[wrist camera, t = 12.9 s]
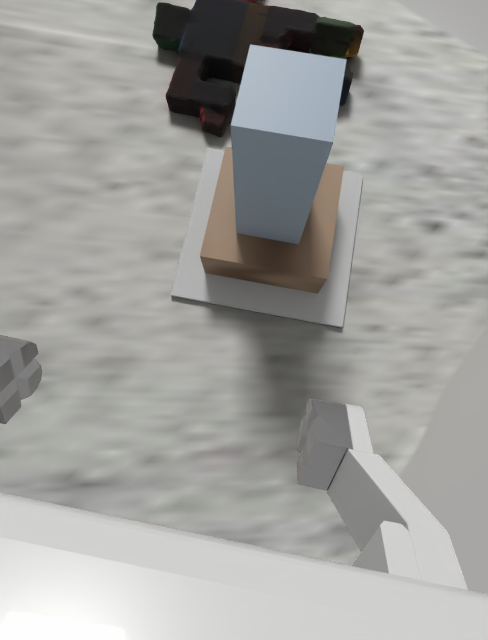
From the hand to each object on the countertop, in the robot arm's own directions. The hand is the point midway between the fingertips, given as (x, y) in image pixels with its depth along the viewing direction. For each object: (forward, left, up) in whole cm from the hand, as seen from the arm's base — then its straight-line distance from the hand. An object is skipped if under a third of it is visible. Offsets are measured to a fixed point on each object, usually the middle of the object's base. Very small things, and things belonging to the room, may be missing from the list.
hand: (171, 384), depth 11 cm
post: (+2, +12, -10) cm, 16 cm away
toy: (-2, +27, -14) cm, 31 cm away
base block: (+2, +12, -13) cm, 18 cm away
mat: (+2, +12, -13) cm, 18 cm away
